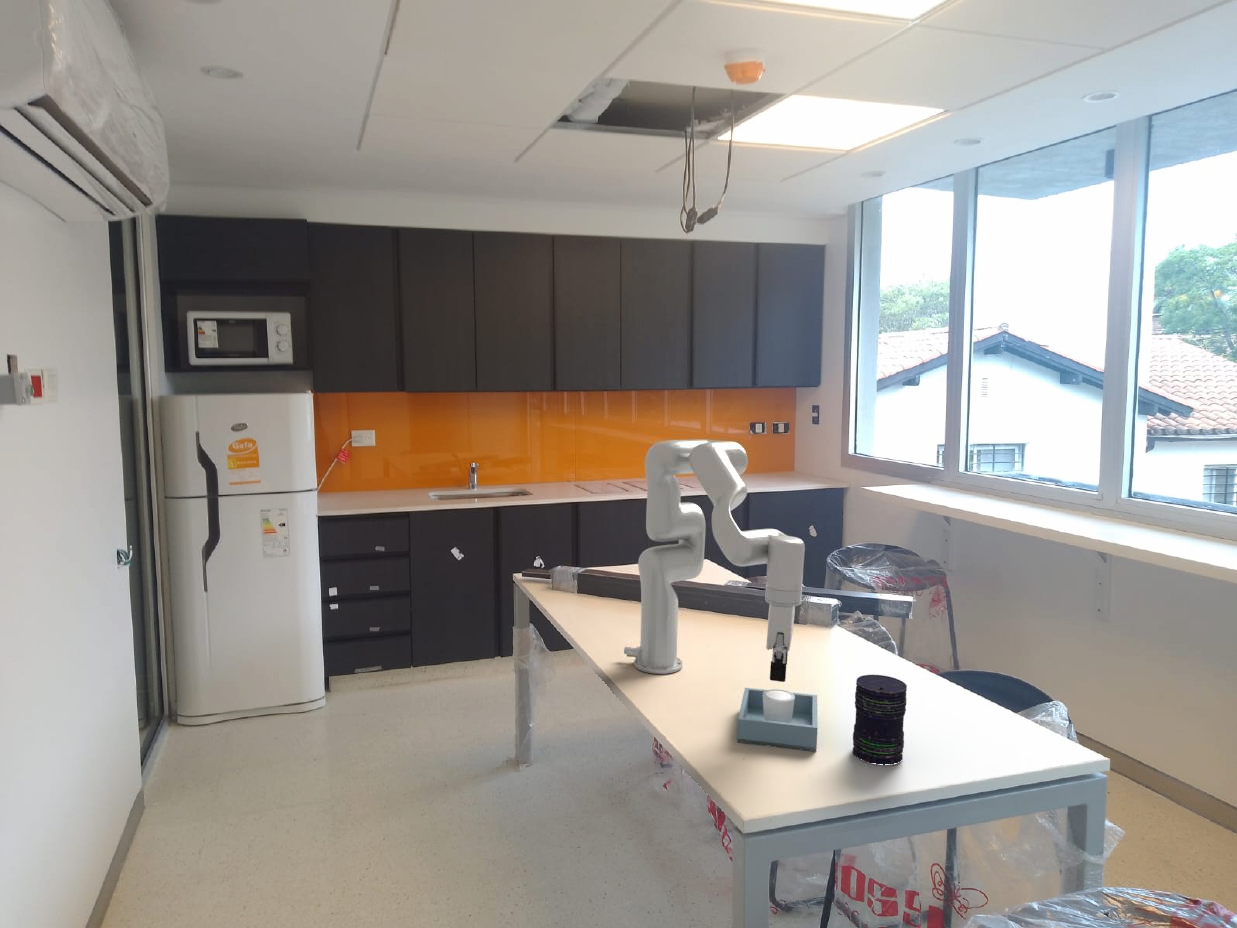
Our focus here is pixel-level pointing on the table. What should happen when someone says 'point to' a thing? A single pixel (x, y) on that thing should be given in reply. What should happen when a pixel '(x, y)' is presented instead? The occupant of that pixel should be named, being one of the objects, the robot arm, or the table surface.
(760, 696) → the open box
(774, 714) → the white cup
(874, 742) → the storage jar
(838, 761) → the table surface
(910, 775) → the table surface
